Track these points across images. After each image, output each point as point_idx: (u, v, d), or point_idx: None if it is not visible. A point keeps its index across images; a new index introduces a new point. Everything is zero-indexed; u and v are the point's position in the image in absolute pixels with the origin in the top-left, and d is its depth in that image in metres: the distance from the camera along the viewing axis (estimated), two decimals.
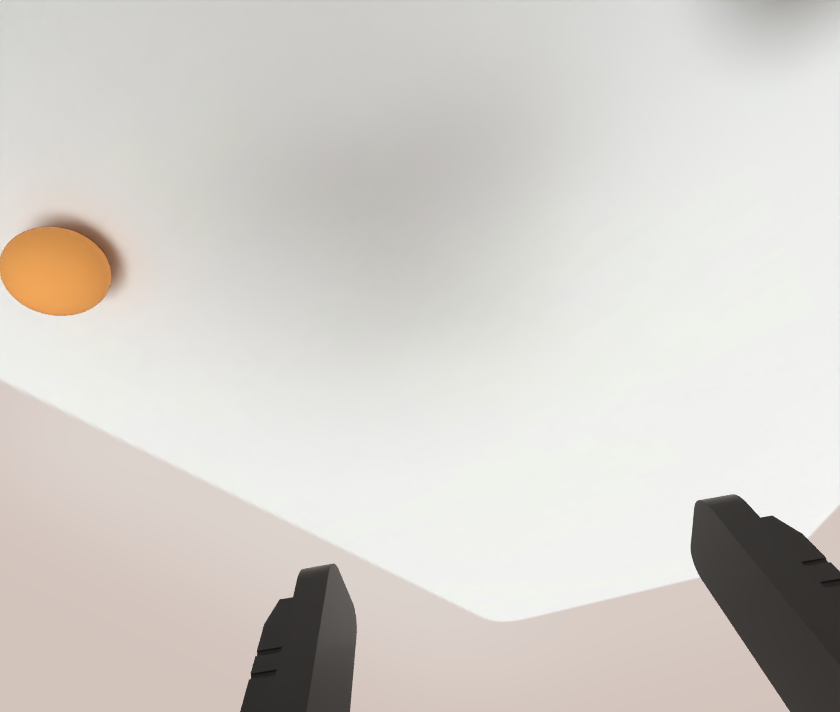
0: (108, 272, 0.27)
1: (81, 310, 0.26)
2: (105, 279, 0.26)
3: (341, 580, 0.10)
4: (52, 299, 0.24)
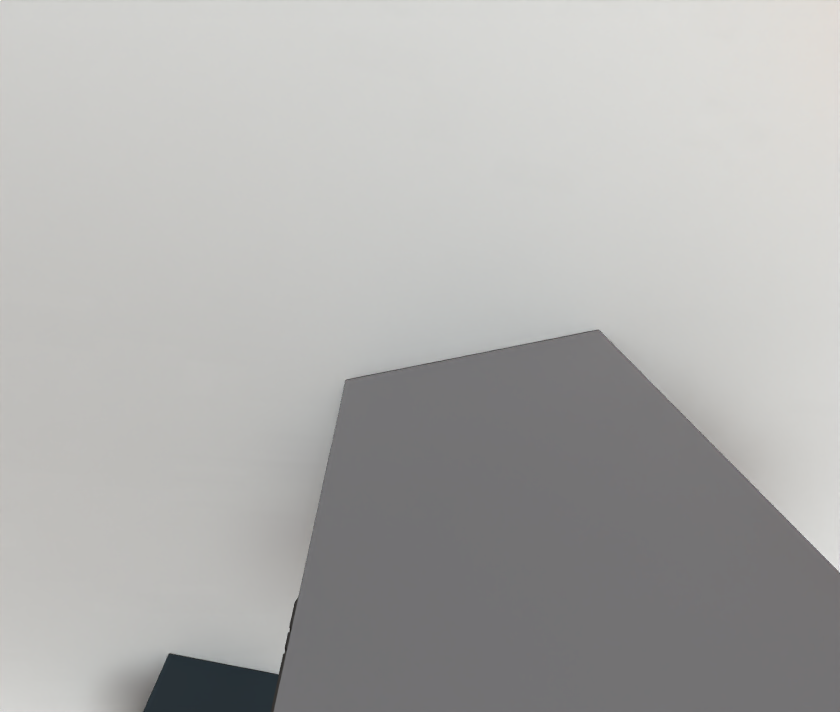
0: None
1: None
2: None
3: None
4: None
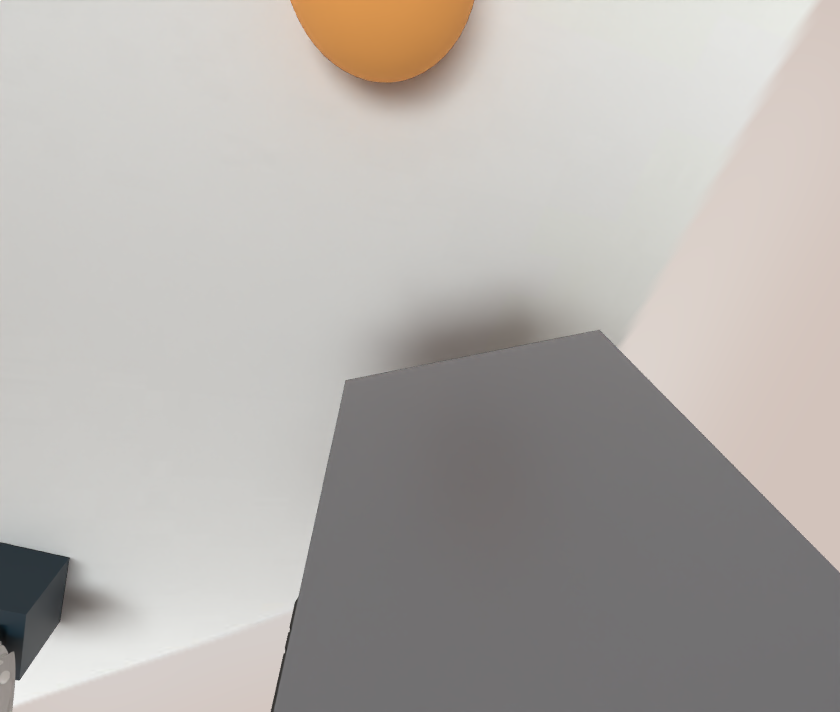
0: None
1: None
2: None
3: None
4: None
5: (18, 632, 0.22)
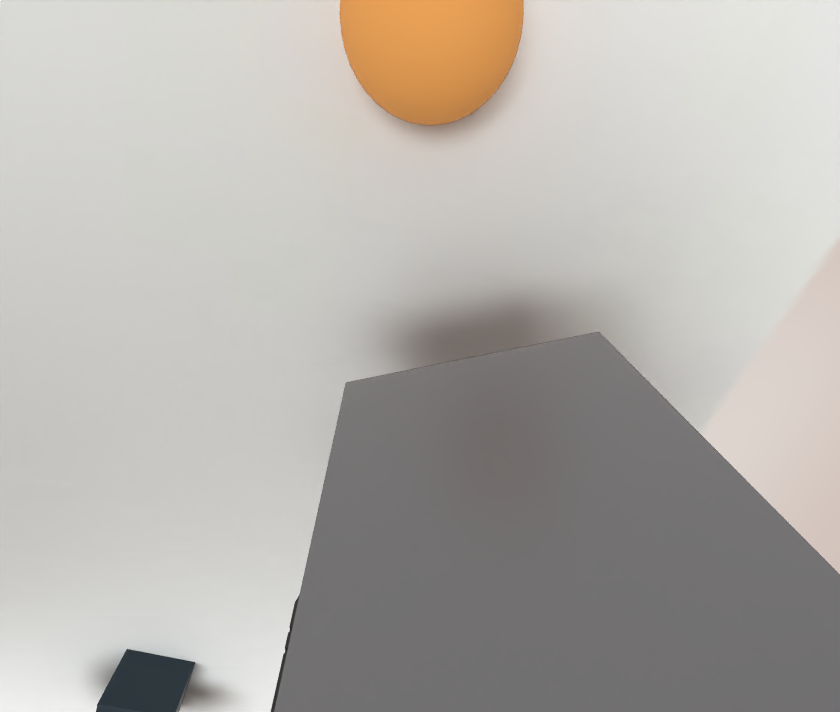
0: (420, 65, 0.11)
1: (492, 92, 0.13)
2: (430, 85, 0.12)
3: None
4: None
5: None
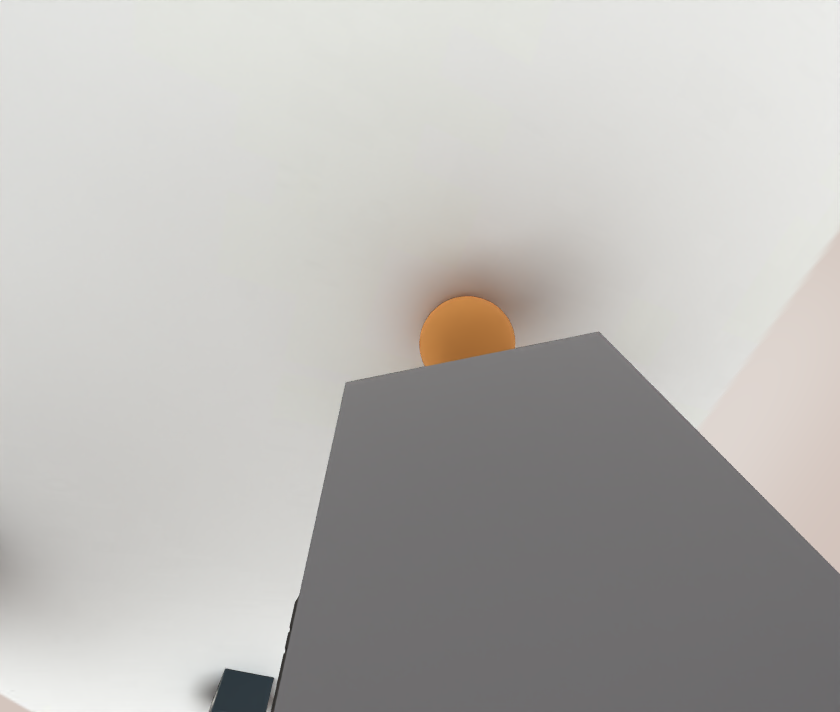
0: None
1: None
2: None
3: None
4: None
5: None
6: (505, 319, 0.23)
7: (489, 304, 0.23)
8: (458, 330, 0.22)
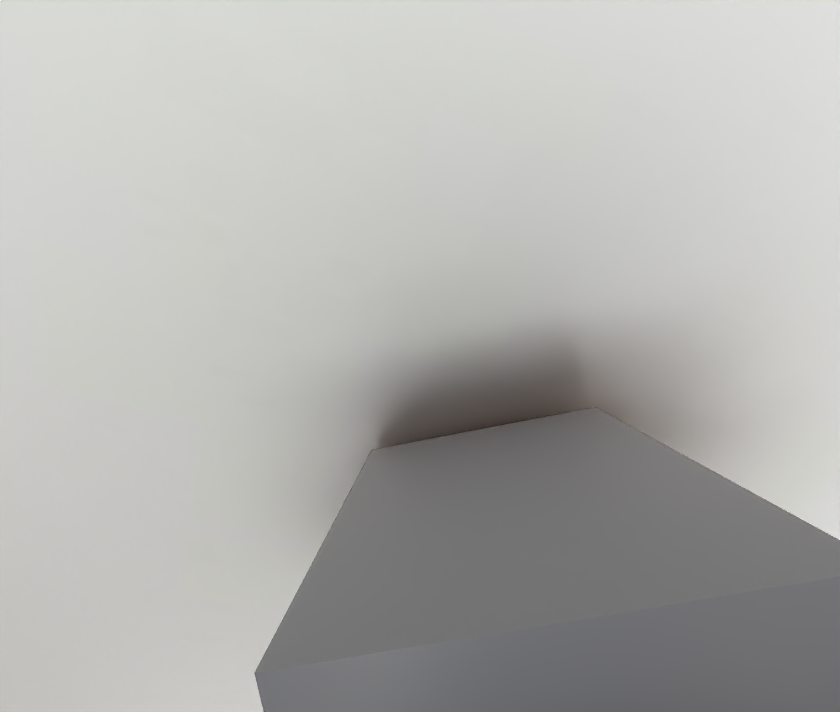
0: None
1: None
2: None
3: None
4: None
5: None
6: None
7: None
8: None
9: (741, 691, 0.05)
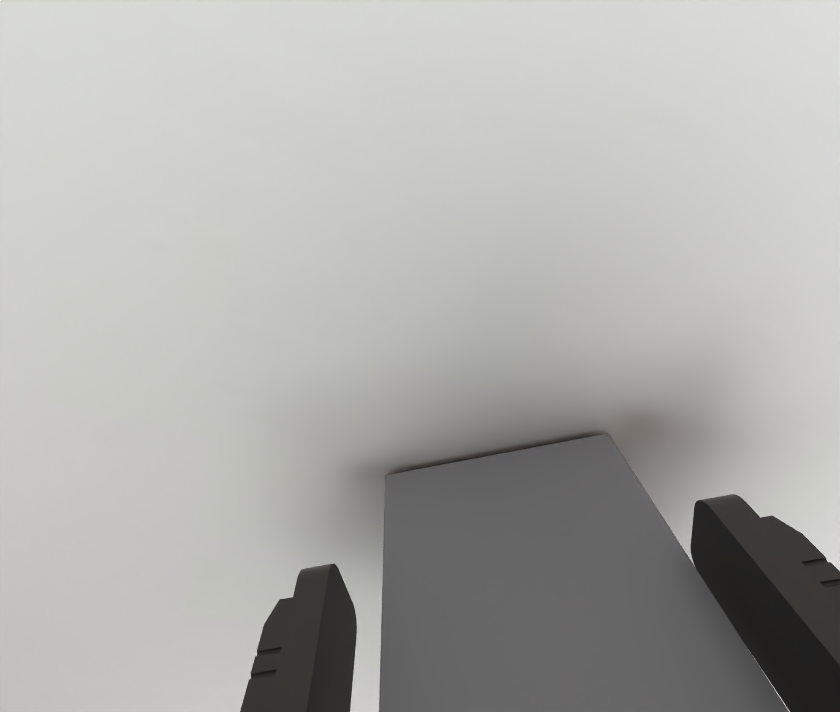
0: None
1: None
2: None
3: (341, 580, 0.10)
4: None
5: None
6: None
7: None
8: None
9: None
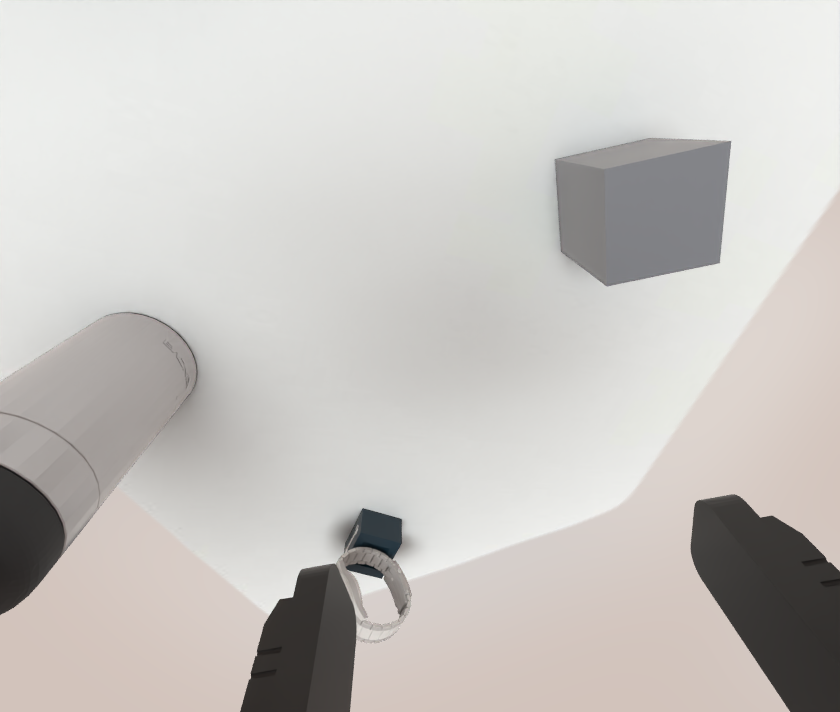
0: None
1: None
2: None
3: (341, 580, 0.10)
4: None
5: (393, 552, 0.46)
6: None
7: None
8: None
9: (698, 168, 0.25)
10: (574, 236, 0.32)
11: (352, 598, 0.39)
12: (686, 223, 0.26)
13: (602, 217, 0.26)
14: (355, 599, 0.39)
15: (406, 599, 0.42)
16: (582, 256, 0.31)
